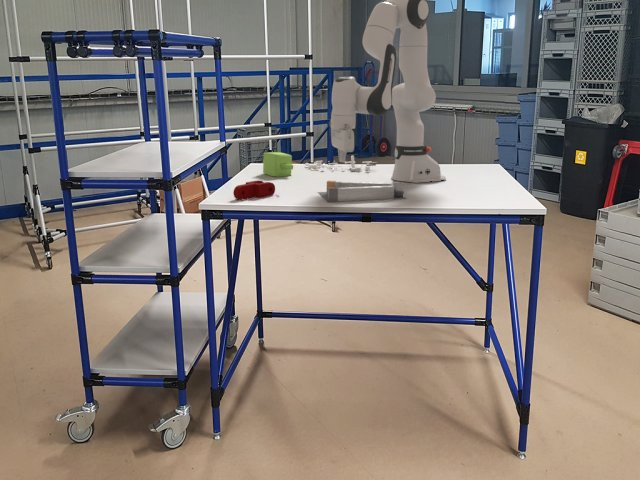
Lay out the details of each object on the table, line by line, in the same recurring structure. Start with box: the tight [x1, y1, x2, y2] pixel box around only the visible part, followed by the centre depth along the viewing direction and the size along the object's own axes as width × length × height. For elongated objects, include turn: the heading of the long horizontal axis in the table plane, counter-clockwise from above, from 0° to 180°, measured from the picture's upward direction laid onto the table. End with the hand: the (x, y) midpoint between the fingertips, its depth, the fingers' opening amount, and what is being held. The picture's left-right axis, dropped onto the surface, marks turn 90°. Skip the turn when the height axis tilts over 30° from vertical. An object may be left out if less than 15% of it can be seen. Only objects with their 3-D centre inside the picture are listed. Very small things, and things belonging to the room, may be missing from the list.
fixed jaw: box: [327, 181, 405, 203], centre depth 201 cm, size 28×5×5 cm, turn 102°
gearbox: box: [262, 151, 294, 178], centre depth 255 cm, size 18×10×10 cm, turn 34°
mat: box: [316, 191, 407, 204], centre depth 207 cm, size 28×18×1 cm, turn 102°
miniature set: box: [304, 155, 377, 173], centre depth 269 cm, size 6×35×12 cm
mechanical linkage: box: [232, 179, 276, 201], centre depth 210 cm, size 16×7×5 cm, turn 139°
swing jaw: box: [326, 180, 392, 193], centre depth 208 cm, size 23×3×4 cm, turn 80°
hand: (342, 161), depth 213 cm, fingers closed
